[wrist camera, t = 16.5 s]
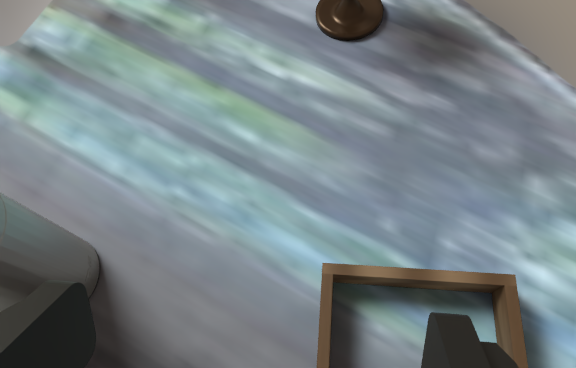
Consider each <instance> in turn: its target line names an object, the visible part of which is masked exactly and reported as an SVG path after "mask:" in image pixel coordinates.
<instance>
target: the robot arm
mask: <svg viewBox="0 0 576 368" xmlns="http://www.w3.org/2000/svg"><path fill="white" fill-rule="evenodd" d="M98 276H99V260H98V256H97V254H96V252H95V250H94V248H93V247H92V246H91V245H90V244H89V243H88V242H86V241H84V240H83V239H81V238H79V237H78V236H76V235H74V234H72V233H71V232H69V231H67V230H66V229H64V228H62V227H60V226H59V225H57V224H55V223H53V222H52V221H50V220H48V219H46V218H44V217H43V216H41V215H39V214H37V213H36V212H34V211H32V210H30V209H28V208H27V207H25V206H23V205H21V204H20V203H18V202H16V201H14V200H13V199H11V198H9V197H7V196H5V195H4V194H2V193H0V368H84V367H85V366H86V364H87V363H88V361H89V360H90V358H91V356H92V354H93V351H94V348H95V343H96V333H95V328H94V323H93V318H92V314H91V309H90V304H89V297H90V296H91V294H92V292H93V290H94V289H95V286H96V283H97V281H98ZM421 368H519V367H518V365H517V363H516V362H515V361H514V360H513V359H512V358H511V357H510V356H509V355H508V354H507V353H506V352H505V351H504V350H503V349H502V348H501V347H500V346H499V345H498V344H497V343H491V342H480V340H479V338H478V336H477V333H476V331H475V328H474V326H473V324H472V321H471V319H470V317H469V316H468V315H459V314H447V313H435V312H431V313H430V315H429V319H428V325H427V331H426V338H425V345H424V351H423V358H422V365H421Z"/></svg>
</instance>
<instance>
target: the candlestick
mask: <svg viewBox="0 0 576 368" xmlns="http://www.w3.org/2000/svg"><path fill="white" fill-rule="evenodd" d="M382 16H383V5H382V2H381V0H320V1H319V3H318V5H317V7H316V22H317V25H318V27H319V28H320V30H321V31H322V32H323V33H324V34H326V35H327V36H329V37H332V38H334V39H338V40H345V41H350V40H357V39H361V38H364V37H366V36H368V35H370V34H372V33H373V32H374V31H375V30H376V29H377V28H378V27H379V25H380V23H381V21H382Z"/></svg>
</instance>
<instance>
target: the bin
mask: <svg viewBox="0 0 576 368" xmlns="http://www.w3.org/2000/svg"><path fill="white" fill-rule="evenodd" d="M333 282H335V283H350V284H365V285H379V286H394V287H409V288H424V289H438V290H453V291H468V292H483V293H492V302H493V311H494V320H495V328H496V337H497V344H498V345H499V346H500V347H501V348H502V349H503V350H504V351H505V352H506V353H507V354H508V355H509V356H510V357H511V358H512V359H513V360H514V361H515V362H516V363H517V365H518V367H519V368H528V363H527V356H526V349H525V342H524V334H523V327H522V320H521V313H520V306H519V299H518V291H517V284H516V277H515V275H511V274H495V273H479V272H462V271H446V270H430V269H413V268H397V267H381V266H365V265H348V264H332V263H323V266H322V284H321V301H320V319H319V337H318V354H317V368H329V367H330V345H331V323H332V300H333Z"/></svg>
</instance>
